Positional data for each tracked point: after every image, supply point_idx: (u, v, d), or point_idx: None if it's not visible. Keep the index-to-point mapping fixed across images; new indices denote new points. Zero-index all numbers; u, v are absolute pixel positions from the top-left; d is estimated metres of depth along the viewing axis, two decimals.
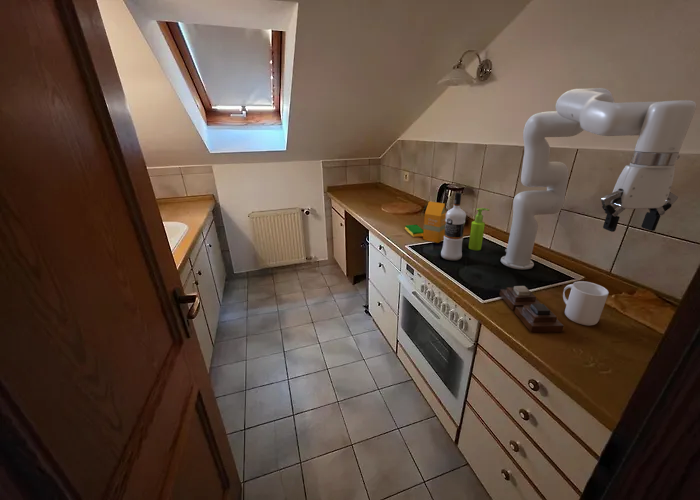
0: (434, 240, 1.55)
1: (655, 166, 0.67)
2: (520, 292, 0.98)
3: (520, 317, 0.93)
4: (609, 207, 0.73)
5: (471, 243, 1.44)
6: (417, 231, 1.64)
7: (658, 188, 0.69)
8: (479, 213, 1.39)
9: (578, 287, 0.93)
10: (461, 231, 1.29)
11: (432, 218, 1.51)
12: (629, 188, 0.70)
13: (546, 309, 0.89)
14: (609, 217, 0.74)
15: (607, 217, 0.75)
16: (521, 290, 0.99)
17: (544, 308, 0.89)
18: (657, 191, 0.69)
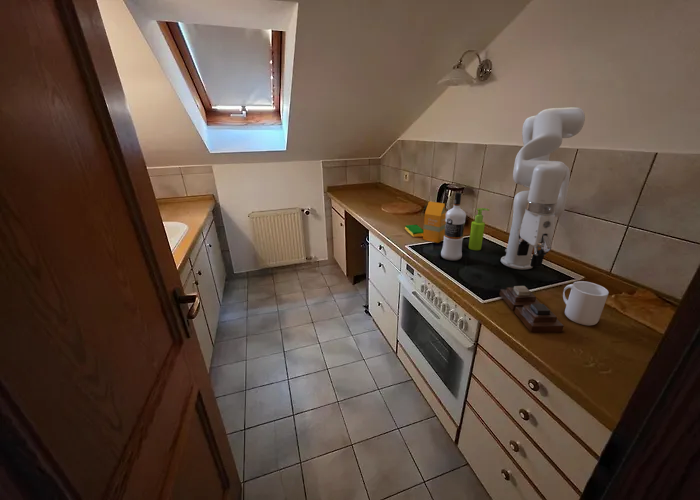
0: (434, 240, 1.55)
1: (525, 209, 0.91)
2: (520, 292, 0.98)
3: (520, 317, 0.93)
4: (519, 235, 0.99)
5: (471, 243, 1.44)
6: (417, 231, 1.64)
7: (530, 228, 0.90)
8: (479, 213, 1.39)
9: (578, 287, 0.93)
10: (461, 231, 1.29)
11: (432, 218, 1.51)
12: None
13: (546, 309, 0.89)
14: None
15: None
16: (521, 290, 0.99)
17: (544, 308, 0.89)
18: (530, 230, 0.91)
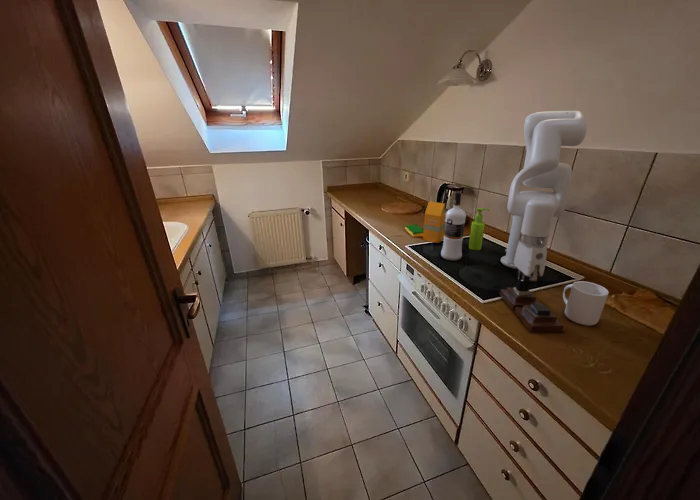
0: (434, 240, 1.55)
1: (519, 239, 0.95)
2: (520, 293, 0.99)
3: (520, 317, 0.93)
4: (518, 269, 1.00)
5: (471, 243, 1.44)
6: (417, 231, 1.64)
7: (523, 258, 0.94)
8: (479, 213, 1.39)
9: (578, 287, 0.93)
10: (461, 231, 1.29)
11: (432, 218, 1.51)
12: None
13: (546, 309, 0.89)
14: None
15: None
16: (521, 291, 0.99)
17: (544, 308, 0.89)
18: (523, 260, 0.94)
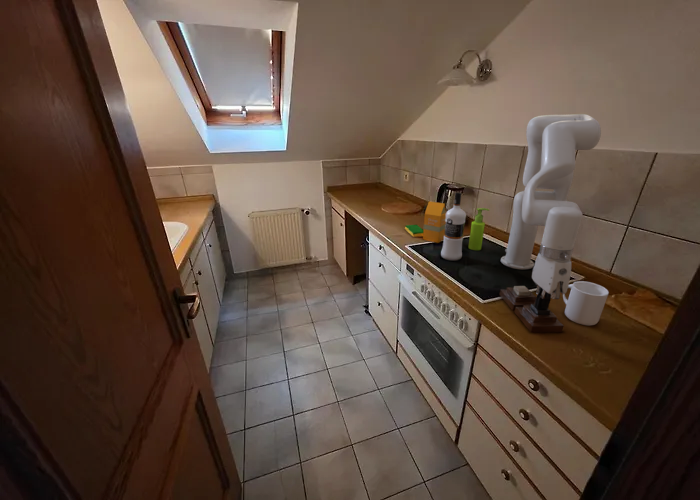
0: (434, 240, 1.55)
1: None
2: (520, 292, 0.98)
3: (520, 317, 0.93)
4: (536, 285, 0.90)
5: (471, 243, 1.44)
6: (417, 231, 1.64)
7: (544, 273, 0.84)
8: (479, 213, 1.39)
9: (578, 287, 0.93)
10: (461, 231, 1.29)
11: (432, 218, 1.51)
12: None
13: (546, 309, 0.89)
14: None
15: None
16: (521, 290, 0.99)
17: None
18: (544, 276, 0.84)
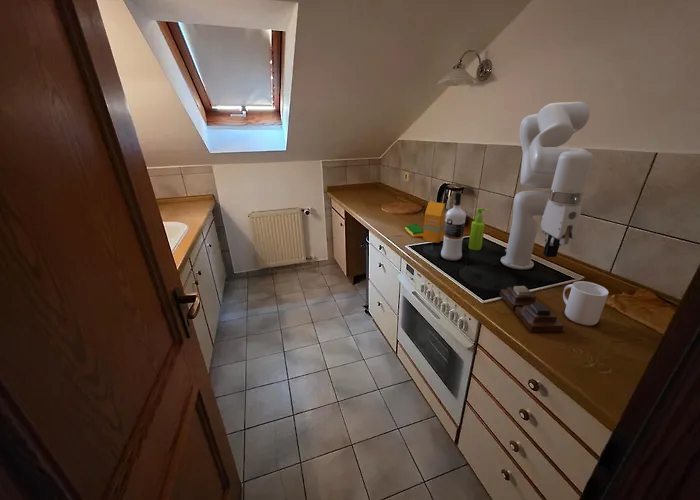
0: (434, 240, 1.55)
1: (548, 199, 0.86)
2: (520, 292, 0.98)
3: (520, 317, 0.93)
4: (545, 233, 0.91)
5: (471, 243, 1.44)
6: (417, 231, 1.64)
7: (553, 219, 0.85)
8: (479, 213, 1.39)
9: (578, 287, 0.93)
10: (461, 231, 1.29)
11: (432, 218, 1.51)
12: None
13: (546, 309, 0.89)
14: None
15: None
16: (521, 290, 0.99)
17: (544, 308, 0.89)
18: (553, 222, 0.85)
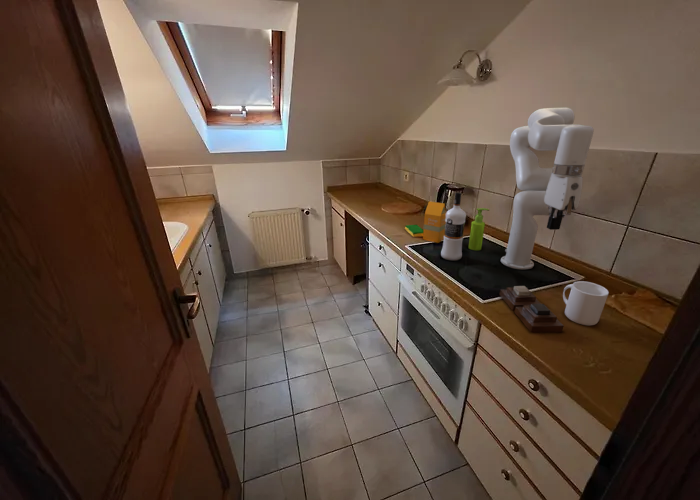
0: (434, 240, 1.55)
1: (551, 173, 0.91)
2: (520, 292, 0.98)
3: (520, 317, 0.93)
4: (549, 207, 0.96)
5: (471, 243, 1.44)
6: (417, 231, 1.64)
7: (556, 192, 0.90)
8: (479, 213, 1.39)
9: (578, 287, 0.93)
10: (461, 231, 1.29)
11: (432, 218, 1.51)
12: None
13: (546, 309, 0.89)
14: None
15: None
16: (521, 290, 0.99)
17: (544, 308, 0.89)
18: (556, 194, 0.90)
